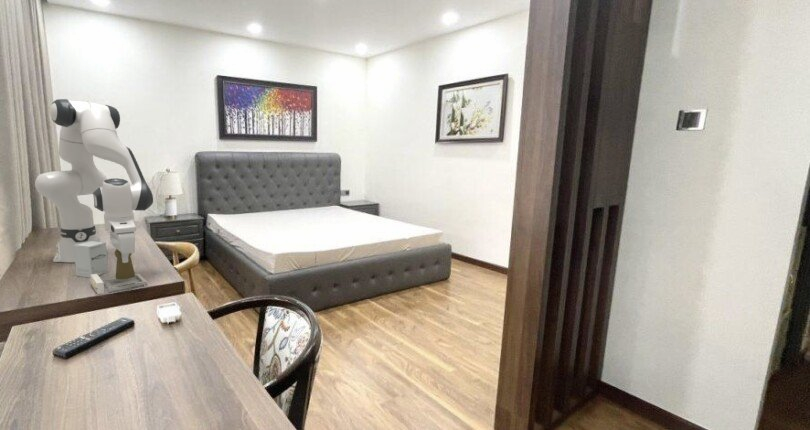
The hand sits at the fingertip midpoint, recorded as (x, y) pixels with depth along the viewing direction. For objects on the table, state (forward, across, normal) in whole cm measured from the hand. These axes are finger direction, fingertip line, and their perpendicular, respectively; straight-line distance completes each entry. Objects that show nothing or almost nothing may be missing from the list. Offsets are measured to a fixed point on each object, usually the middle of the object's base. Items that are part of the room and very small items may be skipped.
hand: (123, 260), depth 146 cm
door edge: (+9, -1, -8) cm, 12 cm away
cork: (+7, 0, 0) cm, 7 cm away
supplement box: (+10, -21, -7) cm, 24 cm away
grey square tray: (+9, 0, 0) cm, 9 cm away
